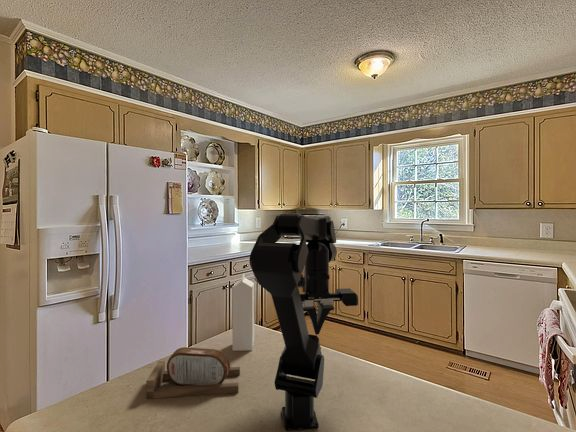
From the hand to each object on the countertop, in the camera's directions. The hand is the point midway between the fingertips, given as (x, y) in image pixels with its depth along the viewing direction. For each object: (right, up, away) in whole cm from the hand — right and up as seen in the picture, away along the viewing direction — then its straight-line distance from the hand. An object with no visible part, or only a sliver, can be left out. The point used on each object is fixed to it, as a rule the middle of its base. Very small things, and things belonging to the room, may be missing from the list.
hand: (316, 333), depth 74 cm
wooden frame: (-28, -12, 0) cm, 31 cm away
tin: (-28, -12, 0) cm, 31 cm away
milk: (-20, -12, +21) cm, 32 cm away
